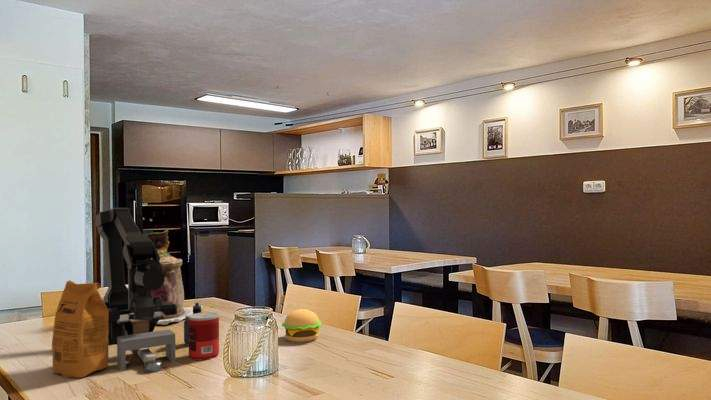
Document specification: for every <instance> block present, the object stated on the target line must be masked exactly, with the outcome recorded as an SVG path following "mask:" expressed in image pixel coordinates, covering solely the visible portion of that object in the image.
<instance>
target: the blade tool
mask: <svg viewBox="0 0 711 400" xmlns="http://www.w3.org/2000/svg"><path fill="white" fill-rule="evenodd" d="M131 331H132V334H140V333H147V332H149V322H148V321H147V320H138V321H131ZM130 352H131V354H132V355H138V357H140V359H141V360H142V362H143V363H145V362H147V361H152V360H157V359H156V355H155V354H154V352H152V351H151V349H150V347H149V348H142V349H136V350H130Z"/></svg>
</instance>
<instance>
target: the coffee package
mask: <svg viewBox="0 0 711 400" xmlns="http://www.w3.org/2000/svg"><path fill="white" fill-rule="evenodd" d="M99 289H101V284H100V283H99V282H90V283H89V282H88V283H76V282H74V281H72V280H67V281H66V283H65V287H64V289H63V292H61V293H62V294H61V297H60V300H59V302H58V305H57V308H56V312H55V316H54V322H53V323H54V324H53V329H52V330H53V333H52V339H51V340H52V341H51V347H52V348H51V350H52V373H53V374H61V375H62V376H63V377H64V378H74V379H75V378H85V377H87V376H88V375H90V374H92V373H94V372H98V371H101V370H103V369H105V368H107V367H109V345H110V344H109V341H108V334H109V326H108V319H109V311H108V309H107V307H106V305H105V303H104V301H103V297H101V294H100V292H99Z"/></svg>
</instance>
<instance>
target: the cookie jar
mask: <svg viewBox="0 0 711 400" xmlns="http://www.w3.org/2000/svg"><path fill="white" fill-rule="evenodd" d="M168 233H169V230H168V229H167V230H165V231H163V232H151V233H149V234H145V235H146V236H148V237H149V238H150V239H151V241H152V242H153V244H154V245H155V247H156V249H157V252H158V254H159V257H160V265H157V269H159V270H161V271H162V272H163V274H164V276H165V279H164V283H163V285H162V286H161V287H160V288H159V289H157V290H151V295H152V298H154V297H161V298H162V303H163V302H172V303H174V304H175V305H177V314H175V315H167V316H166V315H165V314H164V313H163V312H162V316H163V319H160V320H159V321H158V322H157V324H156V325H162V326H167V325H169V323H174V322H175V323H180V322H182V321H183V320H185V319H186V317H185V316H188V315H192V314H193V306H191V307H190V306H189V307H184V306H183V304H184V301H185V292H184V291H185V290H184V282H183V279H182V278H183V277H182V270H181V269H182V268H181V266H182V265H183V259H182V258H176V257H174V256H172V255H171V254H170V253H169V252H168V248H169V245H170V244H171V243H170V241H169V236H168V235H169V234H168ZM200 306H201V309H202V308H203V305H200ZM129 320H130V321H138V320H147V321H148V317H143V318H140V319H137V318H135V316H134V317H133V319H129Z"/></svg>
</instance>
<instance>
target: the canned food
mask: <svg viewBox="0 0 711 400" xmlns="http://www.w3.org/2000/svg"><path fill="white" fill-rule="evenodd" d="M188 326H189V345H188V357H189V359H191V360H194V361H195V360H196V361H204V360H211V359H214V358H216V357H218V356H219V352H220V316H219V313H218V312H214V311H213V312H211V311H205V312H203V311H202V312H201V313H196V314H192V315H190V316H189V322H188Z"/></svg>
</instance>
